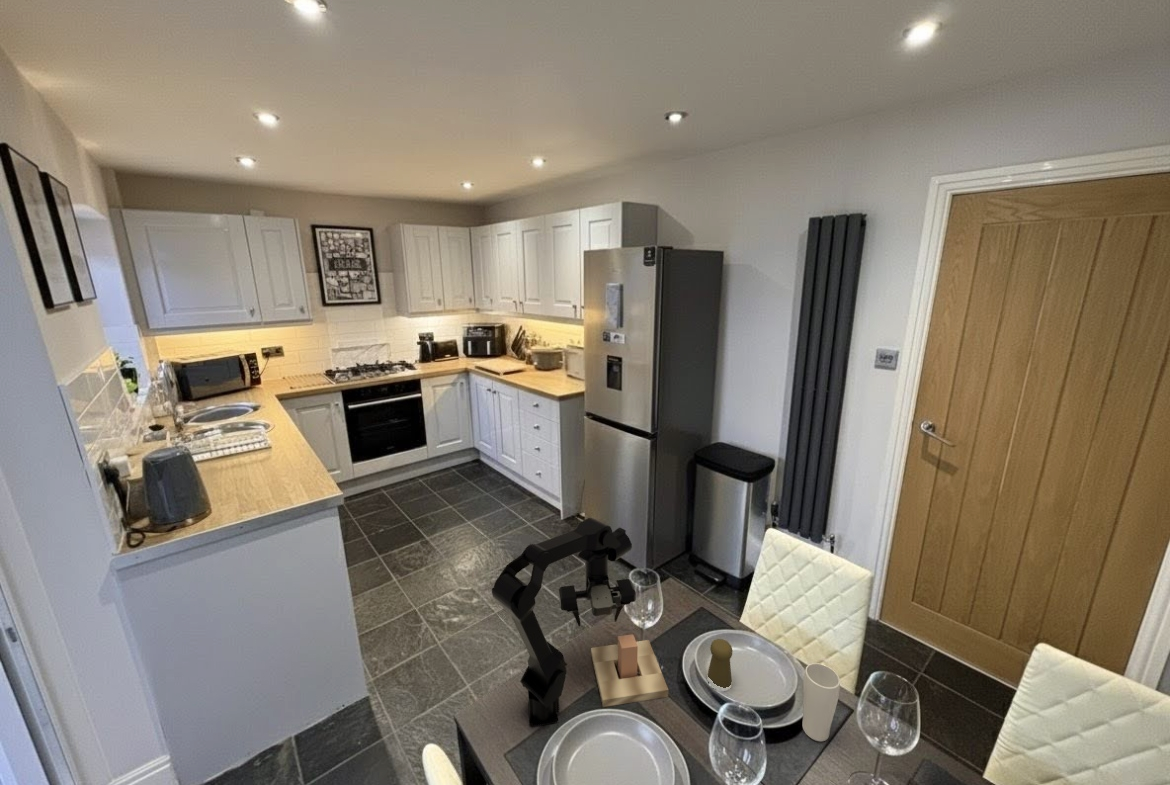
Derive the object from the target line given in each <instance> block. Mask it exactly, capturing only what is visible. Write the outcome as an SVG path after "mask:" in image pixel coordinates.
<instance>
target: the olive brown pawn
mask: <svg viewBox="0 0 1170 785" xmlns="http://www.w3.org/2000/svg"><path fill="white" fill-rule="evenodd" d="M709 648H710V654H711V659H710V663H709V667H708V670H707V675H708V677H709V678H710V679H711V680H712V681H713V683H714V684H716V685H717V686H720V687H723V688H726V687H729V686H730V685H731V682H732V683H733V681H732V680H733V679H732V669H731V668H732V667H731V658H732V657H733V648H732V645H731V644H730V642H729V641H728V640H726V639H724V638H715V639H713V641H712V642H711V644H710V647H709Z"/></svg>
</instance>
